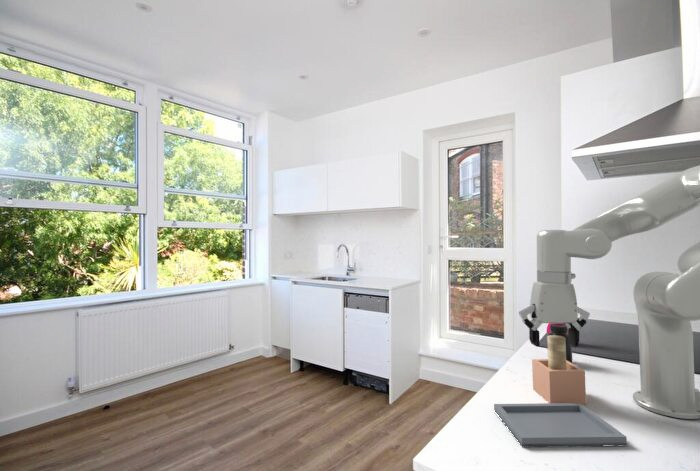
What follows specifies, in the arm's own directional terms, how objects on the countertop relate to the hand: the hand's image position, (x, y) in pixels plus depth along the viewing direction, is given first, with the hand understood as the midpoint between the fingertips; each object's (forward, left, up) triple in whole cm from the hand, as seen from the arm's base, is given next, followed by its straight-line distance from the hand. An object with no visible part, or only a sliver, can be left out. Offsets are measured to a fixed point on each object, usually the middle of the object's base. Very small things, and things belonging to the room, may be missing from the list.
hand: (554, 344), depth 89 cm
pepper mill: (-26, -45, -13) cm, 53 cm away
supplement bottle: (-15, -24, -13) cm, 31 cm away
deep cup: (-1, 0, -13) cm, 13 cm away
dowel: (-1, 0, -13) cm, 13 cm away
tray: (+8, +15, -13) cm, 21 cm away
